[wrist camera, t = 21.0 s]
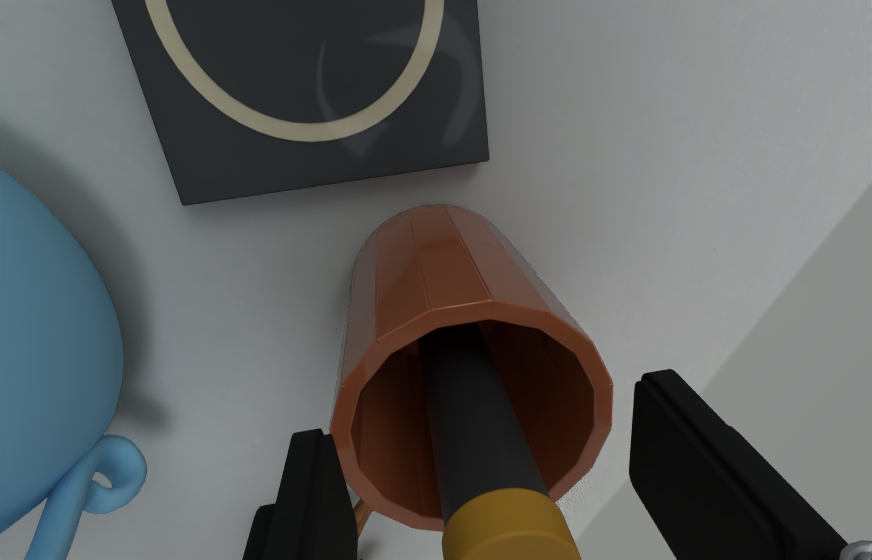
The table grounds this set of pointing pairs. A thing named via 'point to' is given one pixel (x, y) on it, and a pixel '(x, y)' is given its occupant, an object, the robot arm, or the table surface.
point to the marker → (484, 457)
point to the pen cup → (506, 339)
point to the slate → (307, 90)
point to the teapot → (56, 379)
